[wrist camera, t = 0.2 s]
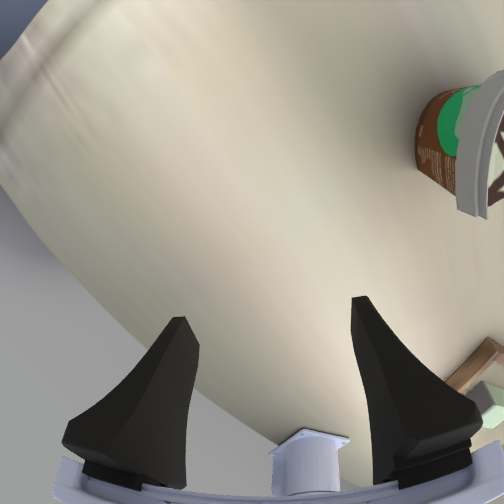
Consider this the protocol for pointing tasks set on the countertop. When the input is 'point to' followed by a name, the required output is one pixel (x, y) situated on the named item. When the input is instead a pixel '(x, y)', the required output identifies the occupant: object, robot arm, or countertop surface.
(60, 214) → the countertop surface
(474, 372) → the arena
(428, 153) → the food container
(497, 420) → the sage block
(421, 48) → the countertop surface
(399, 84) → the countertop surface
